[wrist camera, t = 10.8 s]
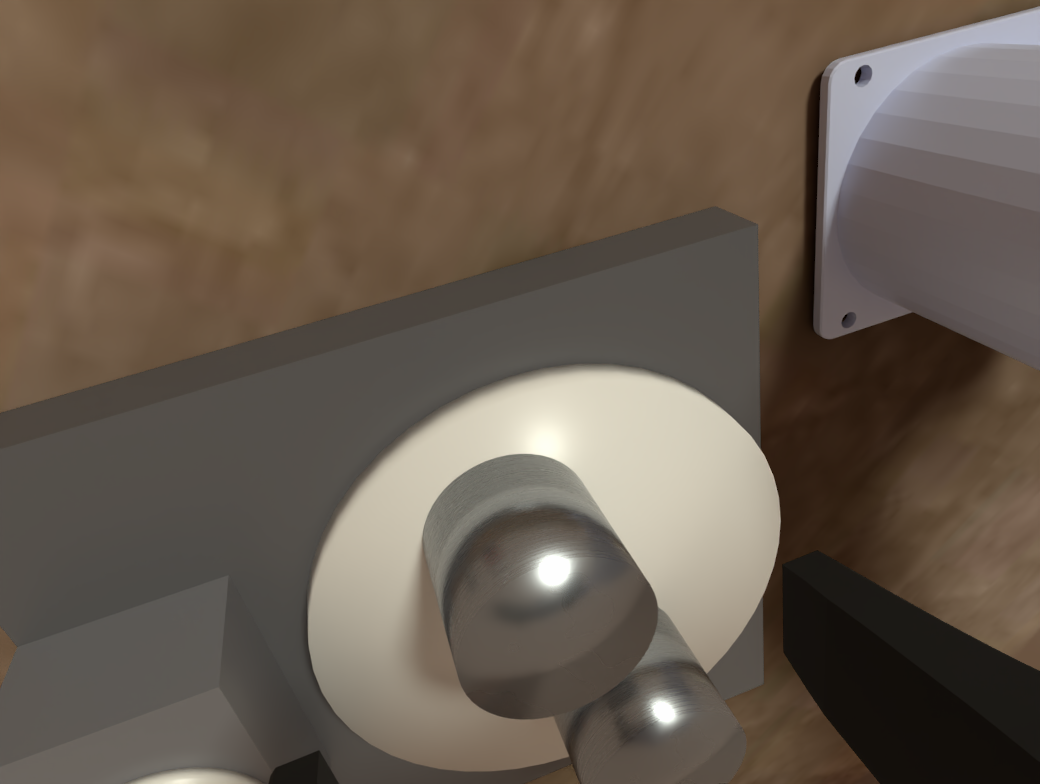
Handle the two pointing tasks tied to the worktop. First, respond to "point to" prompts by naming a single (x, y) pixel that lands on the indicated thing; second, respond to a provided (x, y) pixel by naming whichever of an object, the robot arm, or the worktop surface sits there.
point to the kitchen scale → (374, 517)
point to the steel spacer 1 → (534, 588)
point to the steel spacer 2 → (656, 723)
